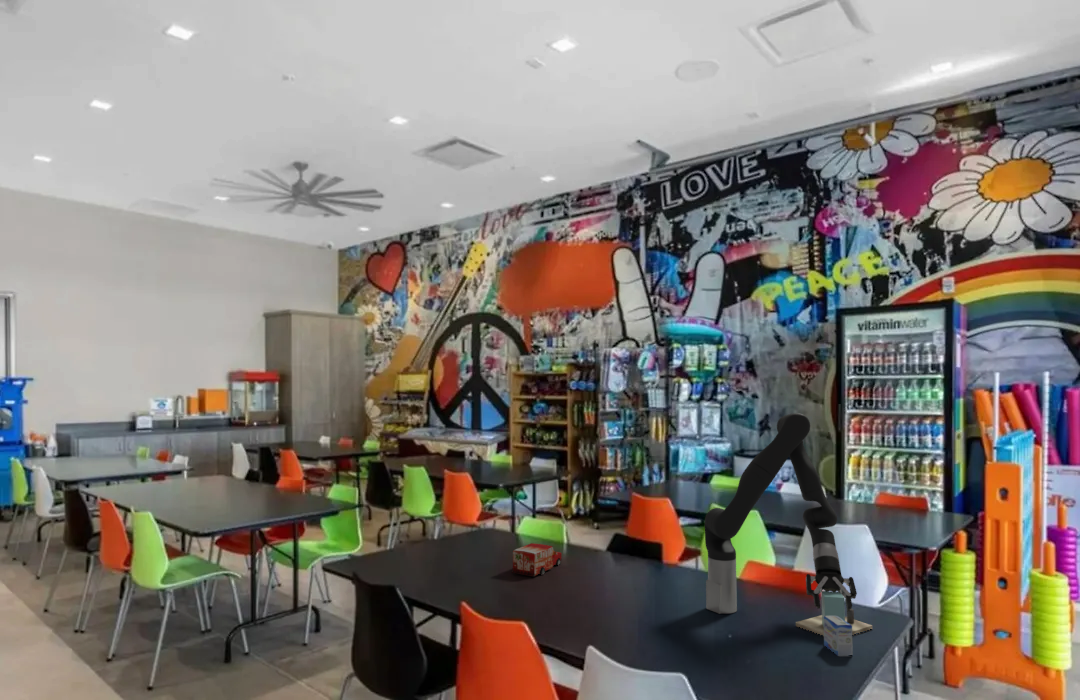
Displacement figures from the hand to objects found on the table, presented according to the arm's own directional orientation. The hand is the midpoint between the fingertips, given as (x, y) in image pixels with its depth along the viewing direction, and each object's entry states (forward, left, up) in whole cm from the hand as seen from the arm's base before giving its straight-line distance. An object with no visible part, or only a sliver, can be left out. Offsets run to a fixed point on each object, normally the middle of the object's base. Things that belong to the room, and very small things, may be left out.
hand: (833, 608), depth 203 cm
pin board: (+4, +3, -7) cm, 9 cm away
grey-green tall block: (+1, +1, -6) cm, 6 cm away
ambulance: (-41, +107, -8) cm, 114 cm away
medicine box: (-11, -9, -8) cm, 16 cm away
